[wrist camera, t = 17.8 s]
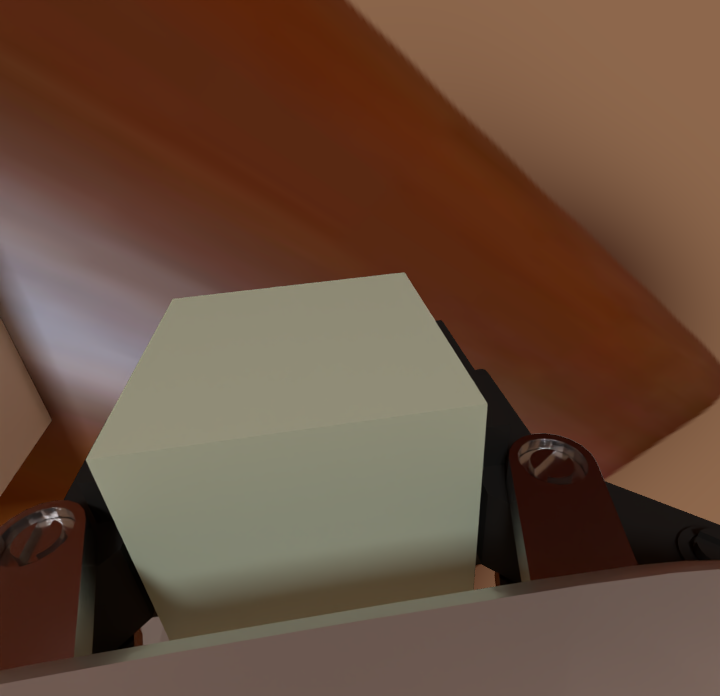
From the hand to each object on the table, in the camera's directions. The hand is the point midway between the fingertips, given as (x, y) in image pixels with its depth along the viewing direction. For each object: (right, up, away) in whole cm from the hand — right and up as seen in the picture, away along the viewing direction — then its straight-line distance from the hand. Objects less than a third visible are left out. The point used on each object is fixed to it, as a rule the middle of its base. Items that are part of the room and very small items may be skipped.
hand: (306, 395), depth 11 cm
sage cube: (0, 0, 0) cm, 1 cm away
